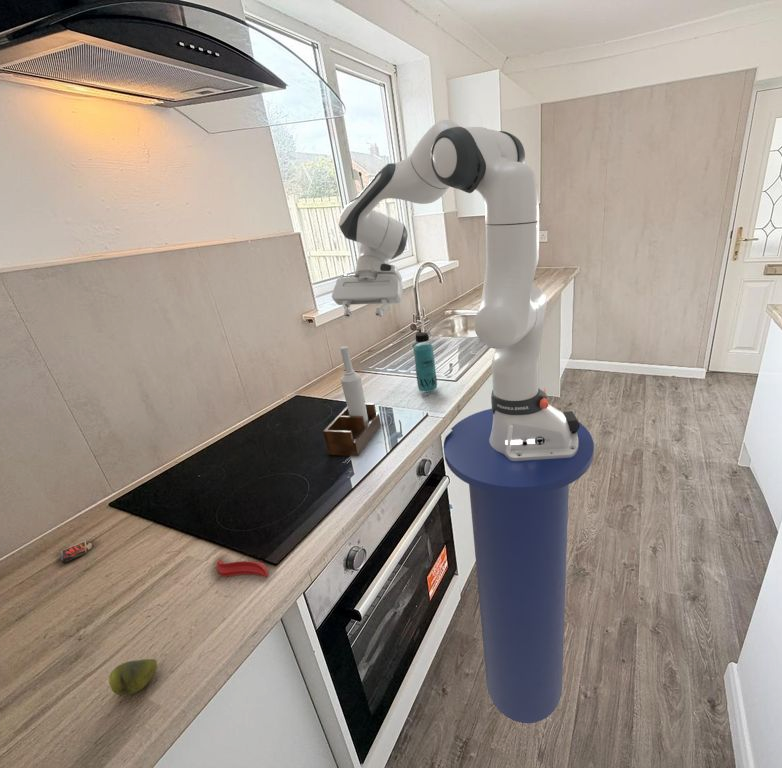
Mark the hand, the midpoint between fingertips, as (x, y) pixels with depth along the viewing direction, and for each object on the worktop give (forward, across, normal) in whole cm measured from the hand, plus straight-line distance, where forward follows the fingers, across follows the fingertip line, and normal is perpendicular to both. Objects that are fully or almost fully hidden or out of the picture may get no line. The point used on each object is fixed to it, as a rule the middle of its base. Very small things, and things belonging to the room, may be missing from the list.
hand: (363, 315), depth 115 cm
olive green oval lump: (+78, -3, -36) cm, 86 cm away
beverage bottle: (+12, +12, +30) cm, 34 cm away
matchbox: (+64, -39, -22) cm, 78 cm away
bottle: (+31, 0, +11) cm, 33 cm away
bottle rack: (+33, 0, +8) cm, 34 cm away
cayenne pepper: (+64, -2, -22) cm, 68 cm away
